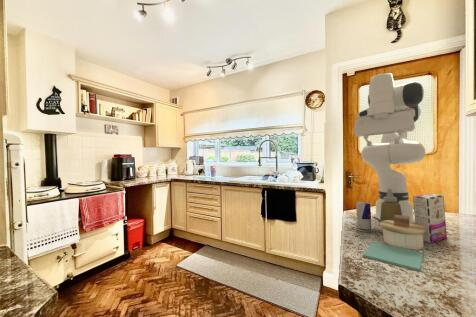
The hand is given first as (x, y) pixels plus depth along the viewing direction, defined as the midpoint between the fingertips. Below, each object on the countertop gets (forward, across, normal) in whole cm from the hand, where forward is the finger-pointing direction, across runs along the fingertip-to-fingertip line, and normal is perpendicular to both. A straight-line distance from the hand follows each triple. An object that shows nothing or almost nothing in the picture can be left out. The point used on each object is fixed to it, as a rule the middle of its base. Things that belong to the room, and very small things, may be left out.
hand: (382, 144), depth 83 cm
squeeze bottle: (+36, -1, -10) cm, 37 cm away
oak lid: (+32, -6, +3) cm, 32 cm away
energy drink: (+36, +8, -5) cm, 38 cm away
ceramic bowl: (+37, -6, +3) cm, 38 cm away
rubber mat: (+38, -5, +16) cm, 42 cm away
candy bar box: (+36, -13, -9) cm, 39 cm away
